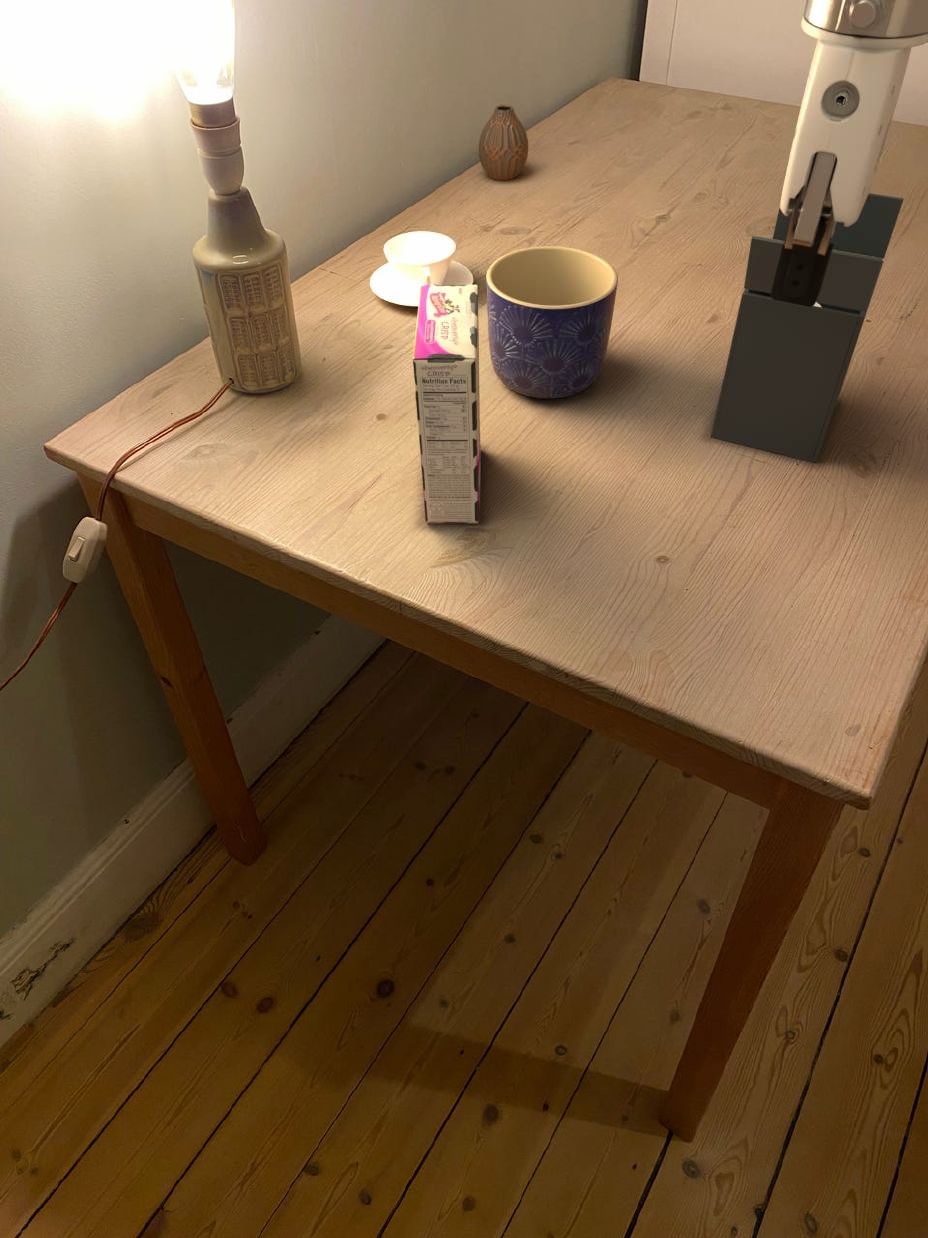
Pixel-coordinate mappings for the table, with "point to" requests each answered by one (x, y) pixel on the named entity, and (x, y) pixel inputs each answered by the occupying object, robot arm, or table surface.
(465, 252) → the table surface
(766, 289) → the panel
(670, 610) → the table surface
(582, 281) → the planter
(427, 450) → the candy bar box
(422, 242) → the teacup
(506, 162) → the vase
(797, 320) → the chute
